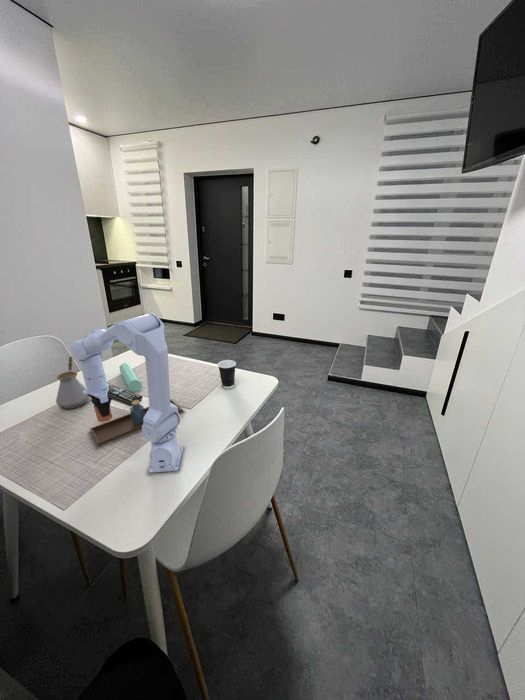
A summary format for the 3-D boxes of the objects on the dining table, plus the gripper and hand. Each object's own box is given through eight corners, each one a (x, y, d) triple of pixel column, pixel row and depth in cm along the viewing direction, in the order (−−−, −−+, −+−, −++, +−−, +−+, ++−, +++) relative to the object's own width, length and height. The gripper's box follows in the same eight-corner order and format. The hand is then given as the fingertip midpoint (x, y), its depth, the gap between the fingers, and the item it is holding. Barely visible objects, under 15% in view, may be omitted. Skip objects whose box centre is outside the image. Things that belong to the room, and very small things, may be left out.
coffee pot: (90, 407, 112) (80, 373, 107) (55, 414, 108) (43, 379, 102) (94, 383, 130) (86, 353, 125) (64, 389, 126) (55, 358, 120)
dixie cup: (235, 390, 124) (234, 367, 120) (217, 389, 125) (215, 367, 120) (238, 381, 131) (237, 360, 127) (221, 381, 132) (220, 359, 128)
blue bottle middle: (143, 424, 101) (140, 405, 98) (131, 425, 101) (126, 405, 98) (147, 416, 105) (143, 398, 102) (134, 417, 105) (131, 399, 102)
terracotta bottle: (109, 421, 92) (104, 400, 89) (95, 422, 92) (89, 401, 89) (114, 413, 96) (109, 393, 93) (100, 414, 96) (95, 394, 93)
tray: (171, 401, 116) (171, 398, 115) (183, 412, 109) (182, 409, 108) (91, 432, 98) (90, 428, 97) (98, 447, 91) (97, 443, 90)
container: (119, 360, 140) (129, 379, 120) (131, 361, 143) (143, 380, 124) (116, 371, 140) (125, 392, 121) (128, 372, 144) (140, 393, 125)
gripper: (74, 371, 91) (85, 407, 96) (84, 388, 81) (95, 427, 86) (99, 365, 95) (107, 400, 100) (111, 380, 85) (120, 418, 90)
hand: (103, 412), depth 93 cm, fingers closed on terracotta bottle, 4 cm apart
